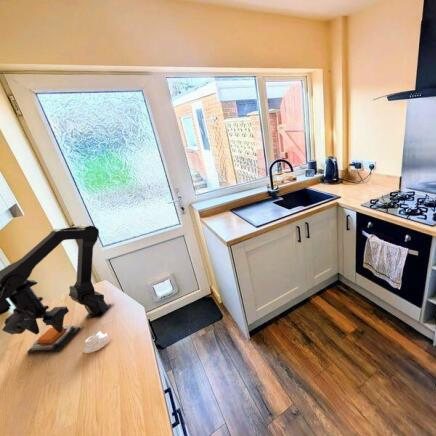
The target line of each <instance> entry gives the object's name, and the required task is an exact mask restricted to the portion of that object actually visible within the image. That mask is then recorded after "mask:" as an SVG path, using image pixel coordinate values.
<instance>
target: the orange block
mask: <svg viewBox="0 0 436 436" xmlns="http://www.w3.org/2000/svg"><path fill="white" fill-rule="evenodd" d="M65 331H66V330H65V329H64V327H63V330H62V332H61V333H58V332H57V331H56V330H55V329H54V328H53V327H49V328H48V329H47V330H46V331H45V332H44V333H43V334H41V336H40V337H38V338H37V339H36V341H38V343H39V344H52V343H54V342H55V341H56V340H57V339H58V338H59V337H60V336H61V335H62V334H63V333H64V332H65Z"/></svg>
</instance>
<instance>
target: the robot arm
mask: <svg viewBox="0 0 436 436" xmlns="http://www.w3.org/2000/svg"><path fill="white" fill-rule="evenodd" d="M99 234H100V230H99V228H97V227H96V226H95V225H91V224H87V223H81V224H78V225H77V226H68V227H65V228H54V229H52V230H51V231H50V233H48V235H47V236H45V237H44V238H43V239H42V240H41V241H40V242H39V243H37V244H36V245H35V246H34V247H33V248H32V249H31V250H29V251H28V252H27V253H26V254H24V255H23V257H21V258H20V259H18V260H16V261H15V262H13V263H10V264H8V265H7V266H5V267H4V268H2V269H1V270H0V316H2V315H4V314H6V313H7V312H9V311H10V310H11V307H12V305H13V306H14V307H15V308H13V309H12V313H11V314H10V315H9V316H7V318H5V320H4V326H3V328H2V331H3V332H5V333H7V334H10V335H21V334H23V333H25V332H26V331H28V332H30V333H32V334H34V335H38V334H40V328H39V323H38V321H37V320H38V319H42V320H41V321H42V323H44V324H45V326H50V327H51V328H54V329H55V330H56V331H57V332H58V333H61V332H62V330H63V326H64V320H65V316H66V315H67V314H68V313H69V312H70V310H69V308H68V307H67V306H54V307H52V309H50V310H48V309H49V308H50V307H49V305H44V304H43V302H42V301H43V300H44V297H42V296H38V295H37V293H36V292H35V290H34V289H33V288H32V287H33V286H36V285H37V284H38V281H36V280H34V279H29V278H30V277H31V274H32V272H33V271H34V269H35V268H36V266H37V265H38V264H40V263H41V262H42V261H44V259H45V258H46V257H47V256H49V254H51V253H52V252H53V251H54V250H55V249H56V248H57V247H58V246H59V245H60V244H61V243H62V242H64V241H67V240H68V241H69V240H75V242H76V245H77V247H78V249H77V263H76V264H77V266H76V281H75V283H74V285H69V293H68V297H70V299H71V300H72V301H74V302H75V303H77V304H79V305H81V306H84V308H85V310H86V312H87V313H88V314H87V315H86V318H89V319H90V318H100V317H102V316H103V315H104V314H105V313H106V312H107V311H108V310H109V309H110V308H111V306H112V305H111V304H107V302H106V301H105V295H104V294H102V293H101V292H98V291H96V289H95V286H94V284H93V282H92V277H93V275H92V272H93V255H94V247H95V245H96V243H97V242H98V239H99ZM8 299H9V301H10V302H11V303H12V305H11V303H10V302H9V301H8Z"/></svg>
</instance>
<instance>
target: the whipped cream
mask: <svg viewBox="0 0 436 436" xmlns="http://www.w3.org/2000/svg"><path fill="white" fill-rule="evenodd" d="M109 340H110V339H109V335H108V333H102V331H98V332H97V333H94V334H92V335H91V336H88V337H87V338H86V339H85V341H84V347H83V350H82V353H84V354H85V353H86V354H90V353H94V352H96V351H99V350H101V349H103V347H105V346H106V345H107V344H108V343H109Z"/></svg>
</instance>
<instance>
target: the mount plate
mask: <svg viewBox="0 0 436 436" xmlns="http://www.w3.org/2000/svg"><path fill="white" fill-rule="evenodd" d="M63 327H64V329H65V330H66V331H65V332H64V333H63V334H62V335H61V336H60V337H59V338H58V339H57V340H56V341H55V342H54V343H52V344H39V343H38V341H37V340H36V341H35V342H34V343H33V344H32V346H31V347H30V348H29V349H28V350H27V351H26V353H27V354H28V355H29V354H30V355H32V354H47V353H48V354H49V353H59V352H61V351H62V349H63V348H64V347H65V346H66V345H67V344H68V343H69V342H70V341H71V340H72V339H74V337H75V336H76V335H77V334H78V333H79V332H80V331H81V327H80V326H79V327H77V326H76V327H74V326H73V325H63Z"/></svg>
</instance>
